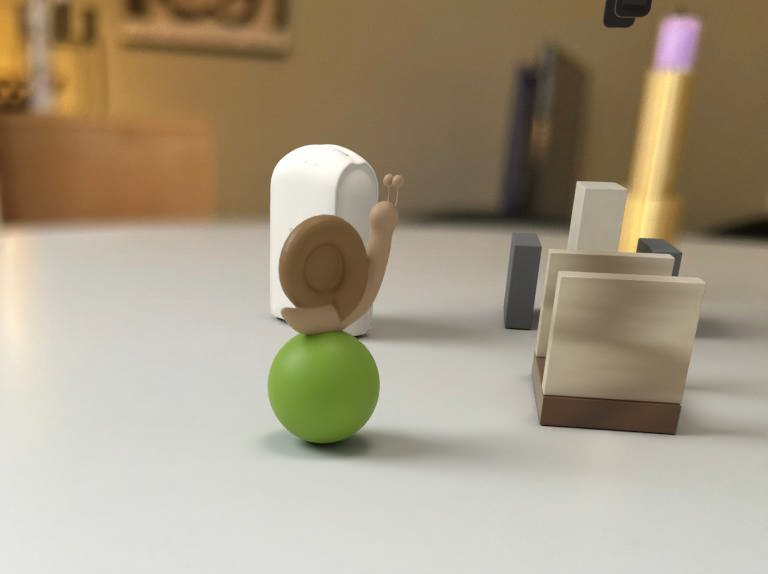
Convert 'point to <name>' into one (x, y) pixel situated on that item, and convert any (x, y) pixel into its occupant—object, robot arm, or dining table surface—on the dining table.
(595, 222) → the white book
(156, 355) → the dining table surface
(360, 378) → the snail figurine
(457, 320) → the dining table surface
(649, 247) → the grey bookends
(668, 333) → the wooden card holder
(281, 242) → the white rounded block
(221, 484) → the dining table surface
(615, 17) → the robot arm
